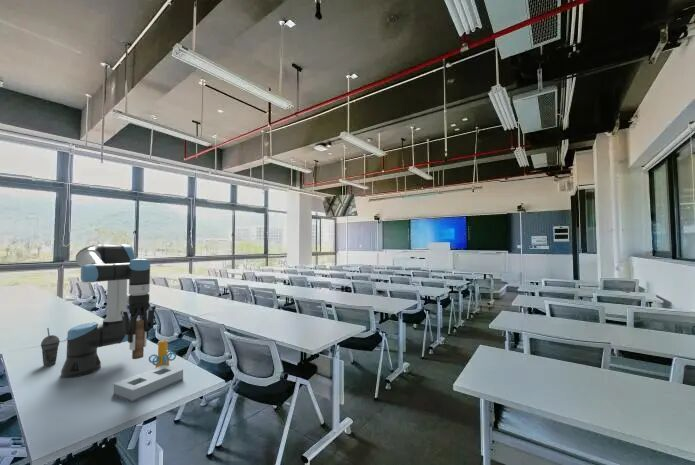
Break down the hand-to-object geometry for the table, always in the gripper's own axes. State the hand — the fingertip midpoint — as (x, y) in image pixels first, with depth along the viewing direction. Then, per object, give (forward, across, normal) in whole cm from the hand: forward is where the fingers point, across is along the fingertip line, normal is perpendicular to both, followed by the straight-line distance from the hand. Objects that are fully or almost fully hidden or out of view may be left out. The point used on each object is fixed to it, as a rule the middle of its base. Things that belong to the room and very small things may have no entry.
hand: (138, 347), depth 129 cm
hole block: (+19, +6, 0) cm, 20 cm away
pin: (+4, 0, 0) cm, 4 cm away
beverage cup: (+19, -1, +76) cm, 79 cm away
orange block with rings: (+20, +20, +13) cm, 31 cm away
